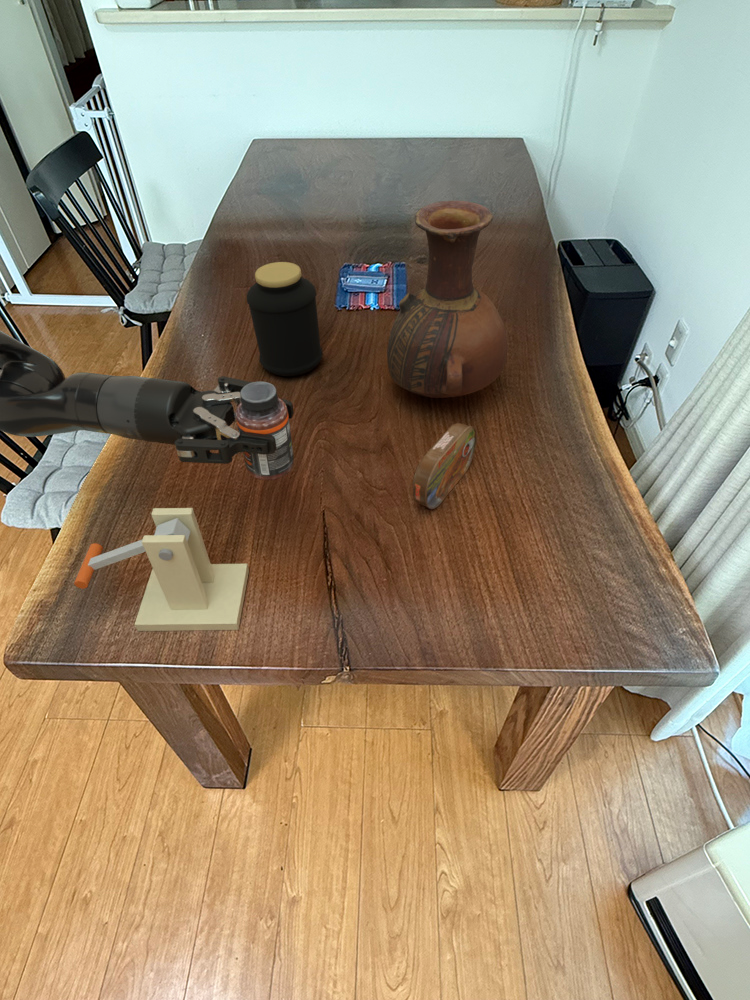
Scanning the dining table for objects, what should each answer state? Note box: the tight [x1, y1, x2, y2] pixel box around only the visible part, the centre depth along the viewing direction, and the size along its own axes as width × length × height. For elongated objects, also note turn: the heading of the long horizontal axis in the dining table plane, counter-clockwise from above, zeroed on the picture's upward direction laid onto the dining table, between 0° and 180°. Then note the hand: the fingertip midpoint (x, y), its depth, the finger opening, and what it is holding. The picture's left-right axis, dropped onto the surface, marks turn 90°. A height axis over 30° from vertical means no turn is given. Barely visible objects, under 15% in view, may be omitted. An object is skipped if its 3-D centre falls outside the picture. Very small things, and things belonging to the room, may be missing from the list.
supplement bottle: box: [235, 381, 295, 481], centre depth 70 cm, size 6×6×11 cm
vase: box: [386, 200, 508, 399], centre depth 95 cm, size 25×20×30 cm
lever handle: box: [73, 518, 191, 589], centre depth 67 cm, size 14×6×2 cm, turn 91°
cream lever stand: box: [134, 507, 250, 632], centre depth 69 cm, size 12×9×14 cm
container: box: [246, 261, 324, 377], centre depth 105 cm, size 12×12×18 cm
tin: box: [412, 422, 478, 510], centre depth 85 cm, size 15×3×8 cm, turn 146°
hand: (283, 426), depth 69 cm, fingers closed on supplement bottle, 6 cm apart
